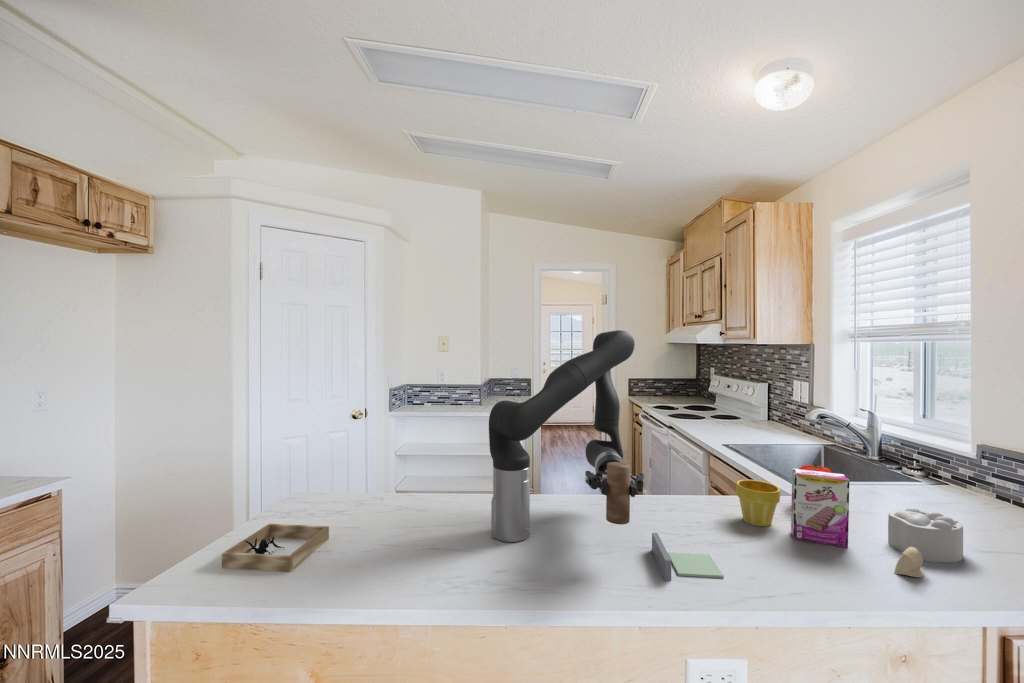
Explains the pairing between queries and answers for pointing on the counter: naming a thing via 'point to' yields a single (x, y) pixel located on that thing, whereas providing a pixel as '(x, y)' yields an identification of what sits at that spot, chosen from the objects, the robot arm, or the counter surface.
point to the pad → (695, 565)
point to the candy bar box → (820, 507)
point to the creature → (262, 546)
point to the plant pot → (757, 501)
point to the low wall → (661, 556)
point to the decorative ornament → (910, 563)
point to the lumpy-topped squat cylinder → (926, 534)
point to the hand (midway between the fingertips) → (620, 491)
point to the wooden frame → (244, 560)
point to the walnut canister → (618, 493)
